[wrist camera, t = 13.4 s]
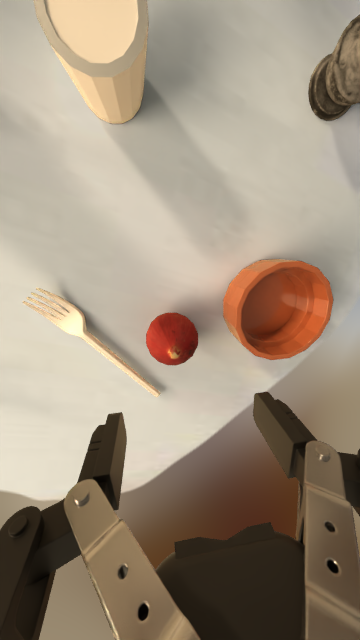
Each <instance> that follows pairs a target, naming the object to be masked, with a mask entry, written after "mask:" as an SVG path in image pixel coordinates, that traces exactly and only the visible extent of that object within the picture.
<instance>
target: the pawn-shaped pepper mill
mask: <svg viewBox="0 0 360 640" xmlns="http://www.w3.org/2000/svg"><path fill="white" fill-rule="evenodd" d="M309 102H310V105H311V108H312V110H313V111H314V113H315V114H316V115H317V116H318V117H319V118H320V119H323V120H326V121H328V120H334V119H337V118H339V117H340V116H342V115H343V114H344V113H346V111H347V110H348V109H349V108H350V106H351V105H353V104H356V103H360V15H359V16H357V17H356V18H355V19H354V20H352V21H351V22H350V24H349V25H348V26H347V27H346V29H345V30H344V31H343V33H342V35H341V37H340V39H339V41H338V44H337V46H336V48H335V50H334V52H333V53H332V54H330V55H328V56H326V57H325V58H324V59H322V60H321V62H320V63H319V64H318V65H317V67H316V68H315V70H314V72H313V74H312V76H311V80H310V84H309Z"/></svg>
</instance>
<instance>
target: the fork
mask: <svg viewBox="0 0 360 640" xmlns="http://www.w3.org/2000/svg"><path fill="white" fill-rule="evenodd" d="M36 289H37V290H38V291H40V292H42V293H44V294H45V295H47V296H49V297H50V298H52V299H54V300H55V301H57V302H58V303H59V304H61V305H62V306H63V307H65V308H66V309H67V310H69V312H68V311H67V310H65V309H64V308H62V307H61V306H59V305H57V304H55V303H54V302H52V301H50V300H48V299H46V298H44V297H42V296H40V295H38V294H35V293H31V294H32V295H33V296H35V297H37V298H39V299H41V300H43V301H44V302H46V303H48V304H49V305H51V306H53V307H54V308H56V309H57V310H59V311H60V312H62V313H63V314H65V315H66V316H64V315H63V314H61V313H60V312H58V311H56V310H54V309H53V308H51V307H49V306H47V305H45V304H43V303H41V302H39V301H37V300H35V299H32V298H30V297H27V299H28V300H30V301H32V302H34V303H36V304H38V305H39V306H41V307H43V308H45V309H46V310H48V311H50V312H51V313H53V314H55V315H56V316H58V317H59V318H61V319H59V318H57V317H56V316H54V315H52V314H50V313H48V312H46V311H45V310H43V309H41V308H39V307H36V306H34V305H32V304H30V303H27V302H25V301H23V303H24V304H25V305H27V306H29V307H30V308H32V309H34V310H35V311H37V312H38V313H40V314H42V315H43V316H45V317H46V318H47V319H49V320H50V321H52V322H53V323H54V324H56V325H57V326H58V327H60V328H61V329H62V330H64V331H65V332H67V333H69V334H72V335H77V336H79V337H81V338H82V339H84V340H85V341H86V342H87V343H89V344H90V345H91V346H92V347H94V348H95V349H96V350H97V351H99V352H100V353H101V354H102V355H104V356H105V357H106V358H108V359H109V360H110V361H111V362H113V363H114V364H115V365H116V366H118V367H119V368H120V369H121V370H123V371H124V372H125V373H126V374H128V375H129V376H130V377H131V378H133V379H134V380H135V381H137V382H138V383H139V384H140V385H142V386H143V387H144V388H145V389H147V390H148V391H149V392H150V393H152V394H153V395H154V396H155V397H158V396H159V395H160V392H159V391H158V390H157V389H155V388H154V387H153V386H152V385H151V384H150V383H148V382H147V381H146V380H145V379H144V378H143V377H141V376H140V375H139V374H138V373H137V372H135V371H134V370H133V369H132V368H131V367H130V366H128V365H127V364H126V363H125V362H124V361H123V360H121V359H120V358H119V357H118V356H117V355H116V354H114V353H113V352H112V351H111V350H110V349H108V348H107V347H106V346H105V345H104V344H103V343H101V342H100V341H99V340H98V339H97V338H96V337H94V336H93V335H92V334H91V333H90V332H89V331H88V330H87V329H86V324H85V317H84V315H83V313H82V312H81V311H80V310H79V309H78V308H77V307H76V306H74V305H73V304H71V303H69V302H68V301H66V300H64V299H62V298H61V297H59V296H57V295H54V294H52V293H50V292H48V291H45V290H43V289H40V288H36Z"/></svg>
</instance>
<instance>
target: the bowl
mask: <svg viewBox="0 0 360 640" xmlns="http://www.w3.org/2000/svg"><path fill="white" fill-rule="evenodd" d="M332 304H333V296H332V292H331V287H330V283H329V281H328V280H327V278H326V277H325V276H324V275H323V274H322V272H321V271H320V270H319V269H318V268H317V267H314V266H312V265H309V264H307V263H305V262H302V261H295V260H282V259H271V260H260V261H258V262H256V263H254V264H252V265H250V266H248V267H246V268H244V269H242V271H241V272H240V273H239V274H238V275H237V276H236V277H235V278H234V279H233V280H232V282H231V283H230V285H229V287H228V290H227V292H226V295H225V297H224V300H223V317H224V320H225V322H226V324H227V326H228V329H229V331H230V332H231V333H232V334H233V335H234V336H235V337H236V338H237V339H238V341H239V342H240V343H241V344H242V345H243V346H244V347H246V348H247V349H248V350H249V351H250V352H251V353H253V354H254V355H255V356H259V357H262V358H266V359H269V360H276V359H284V358H290V357H292V356H294V355H296V354H298V353H300V352H302V351H304V350H306V349H307V348H308V347H309V346H310V345H311V344H313V343H314V342H315V341H316V340H317V339H318V338H319V337H320V336H321V334H322V332H323V330H324V329H325V327H326V325H327V323H328V321H329V320H330V316H331V310H332Z"/></svg>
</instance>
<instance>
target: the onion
mask: <svg viewBox="0 0 360 640" xmlns="http://www.w3.org/2000/svg"><path fill="white" fill-rule="evenodd" d="M146 344H147V347H148V349H149V351H150V354H151V355H152V356H153V357H154V358H155V359H156V360H157V361H159V362H161V363H164V364H166V365H178V364H181V363H184V362H186V361H187V360H188V359H189V358H190V357H192V356H193V354H194V352H195V350H196V348H197V346H198V333H197V331H196V328H195V326H194V324H193V323H192V322H191V321H190V320H189V319H188V318H187V317H185V316H183V315H181V314H178V313H165V314H162V315H160V316H158V317H157V318H155V319H154V320H153V321H152V322H151V324H150V326H149V329H148V331H147V334H146Z"/></svg>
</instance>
